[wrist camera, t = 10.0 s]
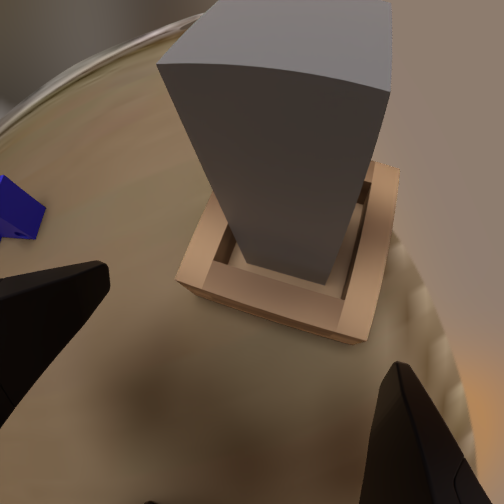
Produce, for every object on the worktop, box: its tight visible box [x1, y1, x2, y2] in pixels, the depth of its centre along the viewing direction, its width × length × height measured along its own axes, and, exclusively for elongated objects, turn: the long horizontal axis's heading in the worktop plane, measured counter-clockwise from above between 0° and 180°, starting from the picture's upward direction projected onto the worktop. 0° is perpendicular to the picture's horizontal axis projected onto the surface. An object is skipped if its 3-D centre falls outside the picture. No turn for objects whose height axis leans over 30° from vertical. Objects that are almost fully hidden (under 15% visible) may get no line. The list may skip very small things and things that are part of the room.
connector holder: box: [175, 161, 400, 345], centre depth 17 cm, size 10×10×4 cm
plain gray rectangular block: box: [156, 0, 392, 286], centre depth 11 cm, size 4×4×13 cm
